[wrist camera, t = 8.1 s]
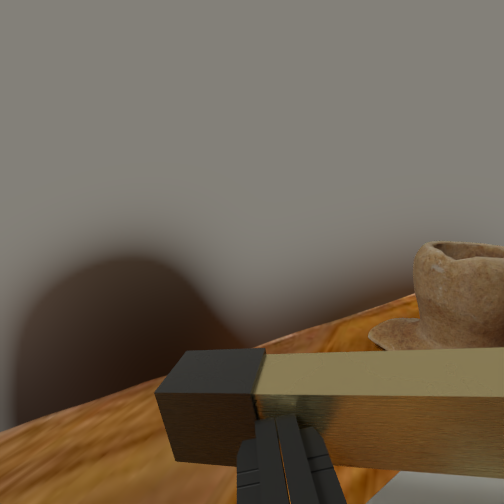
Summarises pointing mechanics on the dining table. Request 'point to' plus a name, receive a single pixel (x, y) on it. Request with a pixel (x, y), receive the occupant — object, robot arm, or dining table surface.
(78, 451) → the dining table surface
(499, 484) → the box
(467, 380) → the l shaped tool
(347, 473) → the dining table surface
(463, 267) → the stone cup
